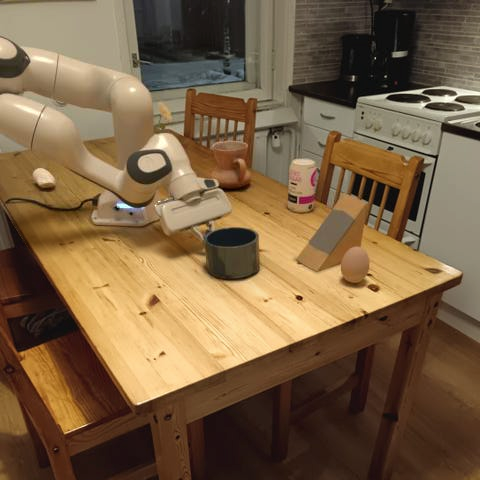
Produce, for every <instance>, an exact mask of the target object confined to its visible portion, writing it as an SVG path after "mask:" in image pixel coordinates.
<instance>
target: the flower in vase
mask: <svg viewBox="0 0 480 480" xmlns="http://www.w3.org/2000/svg"><path fill="white" fill-rule="evenodd" d="M157 107H158V111H159V113H160V116H159V120H158V125H157V127H155V126H154V132H157V133H154V135H157V134H159V132H160V130H162V131H164V130H165V129H166V125H165V124H164V123H162V122H161V120H162V118H163V120H164V121H165V122H167V123H169V124H172V121H173V118H172V113H171V112H170V109H168V106H167V105H165V103H164V102H163V101H158V105H157Z"/></svg>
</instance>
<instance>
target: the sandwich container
mask: <svg viewBox="0 0 480 480" xmlns="http://www.w3.org/2000/svg"><path fill="white" fill-rule="evenodd" d="M367 210H368V203H367V202H366V201H364V200H362V199H359V198H358V197H355V196H352V195H350V194H347V193H345V192H343V193H342V194H341V196H340V197H339V199H338V200H337V202H336V203H335V205H334V206H333V208H332V209H331V210H330V212H329V214H328V215H327V216H326V217H325V219H324V220H323V222H322V223H321V224H320V226H319V227H318V228H317V229H316V231H315V233H314V234H313V236H312V237H311V238H310V239H309V241H308V242H307V243H306V244H305V246H304V248H303V249H302V250H301V251H300V253H299V254H298V256H297V257H296V258H295V260H296V261H297V262H299V263H300V264H302V265H304V266H305V267H307V268H309V269H311V270H313V271H315V272H320V271H322V270H326V269H328V268H331V267H332V268H333V267H335V266H337V265H341V262H342V259H343V257H344V255H345V253H346V252H347V251H348V250H349V249H351V248H352V247H356V246H357V247H361V248H362V241H363V234H364V228H365V222H366V216H367Z"/></svg>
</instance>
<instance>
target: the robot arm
mask: <svg viewBox="0 0 480 480" xmlns="http://www.w3.org/2000/svg"><path fill="white" fill-rule="evenodd" d="M25 92H31V93H32V94H33V93H34V94H36V95H39V96H41V97H44V98H47V99H52V100H54V101H57V102H61V103H63V104H68V105H71V106H75V107H78V108H82V109H91V110H95V111H96V110H97V111H102V112H106V113H111V115H112V124H113V125H112V126H113V134H114V135H113V136H114V148H115V154H116V155H115V156H116V162H117V167H115V166H113V165H111V164H109V163H107V162H106V161H104V160H102V159H100V158H98V157H96V156H95V155H93V154H92V153H91V152H90V151H89V150H88V148H87V147H86V145H85V143H84V142H83V140H82V137H81V134H80V132H79V129H78V127H77V125H76V124H75V122H74V120H72V119H71V118H70V117H68V116H67V115H65V114H64V113H63V112H61V111H59V110H57V109H55V108H53V107H50V106H48V105H46V104H44V103H42V102H38V101H36V100H34V99H31V98H27V97H26V96H25V95H24V93H25ZM154 118H155V115H154V101H153V96H152V94H151V92H150V90H149V89H148V88H147V87H146V85H144V84H143V83H142V82H141V81H140V79H138V78H137V77H136V76H134V75H131V74H128V73H125V72H122V71H118V70H114V69H111V68H106V67H104V66H100V65H99V66H98V65H95V64H91V63H88V62H85V61H82V60H80V59H79V60H78V59H75V58H72V57H70V56H66V55H63V54H60V53H57V52H54V51H51V50H46V49H42V48H37V47H31V46H23V45H18V44H17V43H16V42H14V41H12V40H11V39H9V38H7V37H4V36H2V35H0V134H1V135H2V136H4V137H5V138H6V139H9V140H11V141H12V142H14V143H16V144H18V145H19V146H22V147H24V148H26V149H27V150H30V151H33V152H35V153H37V154H39V155H41V156H44V157H46V158H48V159H50V160H52V161H54V162H56V163H57V164H59V165H60V166H62V167H64V168H66V169H67V170H69V172H72V173H73V174H76V175H77V176H79V177H81V178H83V179H85V180H87V181H89V182H91V183H92V184H94V185H97V186H98V187H100V188H102V189H104V190H103V191H102V192H101V193H98V194H96V195H95V196H93V197H92V198H86V199H84V200H83V201H81V202H80V204H79V205H77V206H75V207H69V208H67V207H57V206H56V207H54V206H50V205H48V204H46V203H42V202H41V201H38V200H35V199H30V198H22V197H11V198H8V199H7V200H5V201H4V204H8V203H9V202H11V201H23V202H29V203H34V204H38V205H40V206H42V207H45V208H48V209H50V210H54V211H65V212H66V211H67V212H69V211H76V210H79V209H81V208H83V205H84V204H86V203H88V202H91V205H92V207H96V208H95V209H94V210H93V211H92V213H91V214H90V215H91V217H90V219H91V222H92V224H94V225H96V226H118V227H119V226H120V227H145V226H146V225H148V224H150V223H152V222H153V223H154V222H156V221H159V222H160V225H161V228H162V230H163V233H164V234H165V235H166V236H168V237H171V236H175V235H177V234H179V233H183V232H186V231H190V233H191V234H192V235H193V236H194V237H196V238H197V239H198V241H199V243H200V244H202V243H204V237H205V236H206V235H205V233H202V232H200V230H199V227H201V226H206V228H208V230H211V231H214V230H215V222H217V221H219V220H222V219H225V218H227V217H229V216H230V215H231V214H232V213H233V206H232V204H231V201H230V199H229V198H228V196H227V195H226V193H225V191H224V190H223V189H222V188H221V187H218V186H219V183H218V181H217V180H216V179H210V178H205V177H199V176H198V175H197V174H196V172H195V171H194V169H193V168H192V166H191V161H190V158H189V156H188V154H187V153H186V150H185V148H184V147H183V145H182V144H181V142H180V140H179V139H178V138H177V137H176V136H175V135H173V134H172V133H169V132H161V133H158V134H157V133H156V134H157V135H154V134H155V131H154V127H155V119H154ZM161 187H163V188H165V191H166V192H167V194H168V196H169V197H166V198H164V199H162V196H161V193H160V188H161Z"/></svg>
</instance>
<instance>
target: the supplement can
mask: <svg viewBox="0 0 480 480" xmlns="http://www.w3.org/2000/svg"><path fill="white" fill-rule="evenodd" d="M317 169H318V168H317V165H316V161H315V160H313V159H310V158H296V159H292V161H291V163H290V164H289V172H288V188H287V190H288V191H287V208H288V209H289V211H291V212H293V213H298V214H304V213H305V214H307V213H309V212H311V211H312V210H313V209H314V206H315V205H314V204H315V203H314V202H315V194H316V181H317V171H318V170H317Z"/></svg>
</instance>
